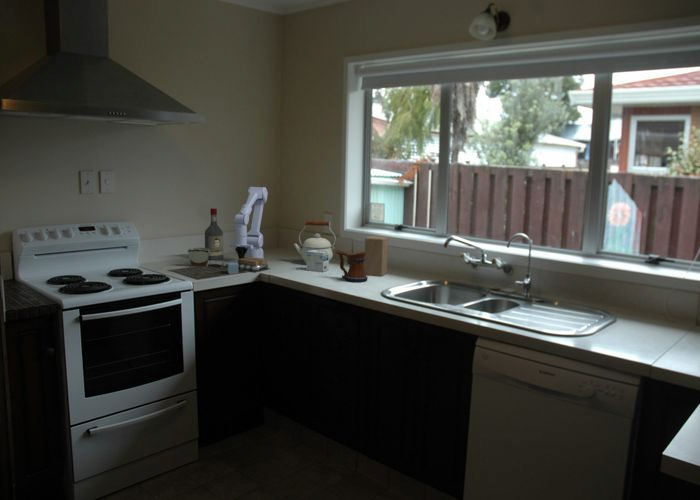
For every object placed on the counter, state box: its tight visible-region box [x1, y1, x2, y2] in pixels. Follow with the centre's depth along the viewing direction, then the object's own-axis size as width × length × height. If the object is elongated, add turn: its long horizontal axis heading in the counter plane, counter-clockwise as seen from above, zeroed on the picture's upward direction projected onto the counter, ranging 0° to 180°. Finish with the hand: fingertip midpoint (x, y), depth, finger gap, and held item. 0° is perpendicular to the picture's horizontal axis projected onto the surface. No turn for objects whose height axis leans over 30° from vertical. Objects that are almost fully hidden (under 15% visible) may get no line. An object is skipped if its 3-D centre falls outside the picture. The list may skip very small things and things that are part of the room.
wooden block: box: [364, 235, 389, 277], centre depth 314 cm, size 10×10×20 cm
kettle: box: [293, 220, 337, 265], centre depth 342 cm, size 25×18×25 cm
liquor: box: [204, 207, 224, 261], centre depth 347 cm, size 9×9×30 cm
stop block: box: [227, 263, 239, 275], centre depth 310 cm, size 5×5×6 cm
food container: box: [187, 247, 210, 268], centre depth 326 cm, size 12×6×10 cm, turn 84°
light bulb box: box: [306, 250, 330, 273], centre depth 322 cm, size 11×7×11 cm, turn 65°
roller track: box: [219, 259, 271, 274], centre depth 323 cm, size 13×24×3 cm, turn 61°
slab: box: [237, 256, 268, 266], centre depth 321 cm, size 10×12×2 cm
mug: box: [336, 249, 369, 283], centre depth 299 cm, size 18×12×15 cm, turn 57°
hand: (241, 260), depth 323 cm, fingers closed
